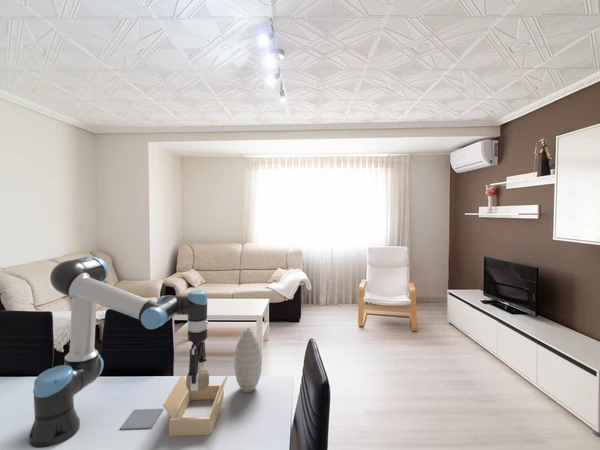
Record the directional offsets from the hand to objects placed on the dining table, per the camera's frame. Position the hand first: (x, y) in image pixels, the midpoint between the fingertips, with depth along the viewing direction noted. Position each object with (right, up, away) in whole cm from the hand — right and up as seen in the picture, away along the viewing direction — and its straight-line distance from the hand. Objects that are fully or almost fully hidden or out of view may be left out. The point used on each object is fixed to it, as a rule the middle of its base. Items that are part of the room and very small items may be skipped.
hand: (197, 383), depth 131 cm
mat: (-22, -13, -2) cm, 25 cm away
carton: (0, -13, 0) cm, 13 cm away
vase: (+17, -12, +20) cm, 29 cm away
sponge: (0, -1, 0) cm, 1 cm away
